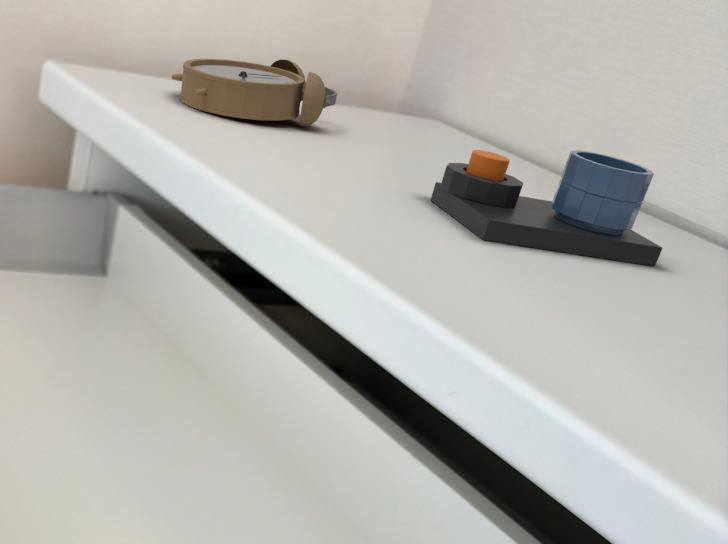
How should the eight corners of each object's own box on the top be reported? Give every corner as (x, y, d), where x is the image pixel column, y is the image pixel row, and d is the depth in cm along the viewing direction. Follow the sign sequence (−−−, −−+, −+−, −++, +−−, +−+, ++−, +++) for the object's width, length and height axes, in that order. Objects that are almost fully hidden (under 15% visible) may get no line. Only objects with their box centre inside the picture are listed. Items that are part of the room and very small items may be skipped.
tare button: (492, 177, 83) (500, 153, 82) (508, 186, 81) (516, 162, 80) (459, 171, 82) (466, 147, 81) (474, 181, 80) (482, 156, 79)
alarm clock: (165, 55, 103) (313, 50, 107) (164, 110, 106) (309, 103, 109) (202, 79, 94) (361, 73, 98) (200, 139, 97) (355, 130, 101)
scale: (586, 224, 88) (600, 186, 87) (655, 266, 80) (672, 225, 78) (424, 198, 84) (436, 158, 83) (478, 239, 76) (493, 196, 74)
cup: (602, 217, 84) (625, 158, 82) (644, 241, 79) (669, 179, 77) (534, 206, 83) (556, 145, 80) (573, 230, 78) (597, 166, 75)
